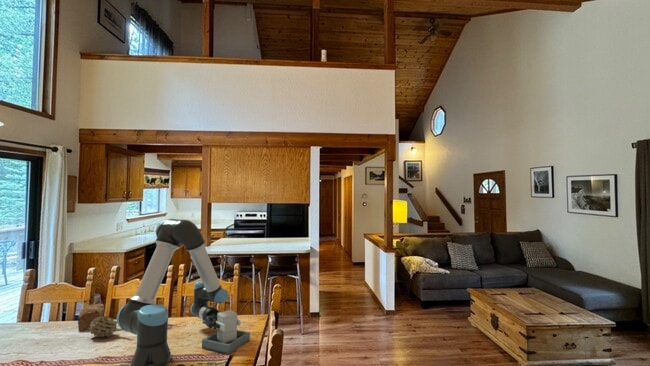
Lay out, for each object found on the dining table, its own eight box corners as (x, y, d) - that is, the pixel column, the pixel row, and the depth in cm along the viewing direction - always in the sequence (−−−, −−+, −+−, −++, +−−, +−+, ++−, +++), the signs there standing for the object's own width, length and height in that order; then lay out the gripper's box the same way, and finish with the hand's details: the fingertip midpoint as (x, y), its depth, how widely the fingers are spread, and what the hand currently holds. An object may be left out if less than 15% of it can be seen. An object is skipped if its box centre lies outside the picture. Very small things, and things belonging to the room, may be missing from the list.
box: (201, 348, 149) (202, 339, 149) (224, 335, 163) (224, 327, 164) (228, 354, 143) (228, 345, 143) (249, 340, 157) (249, 332, 158)
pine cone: (82, 340, 157) (83, 320, 158) (96, 332, 167) (97, 313, 168) (124, 340, 157) (125, 320, 158) (136, 333, 166) (137, 314, 167)
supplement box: (230, 334, 158) (231, 309, 159) (237, 339, 153) (237, 313, 154) (216, 338, 154) (217, 312, 154) (222, 344, 148) (223, 316, 149)
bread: (100, 327, 174) (101, 309, 175) (76, 331, 169) (77, 312, 169) (104, 317, 190) (105, 300, 191) (82, 320, 185) (83, 303, 186)
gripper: (226, 316, 173) (250, 327, 158) (189, 327, 158) (212, 340, 143) (226, 302, 174) (250, 312, 158) (190, 311, 159) (212, 323, 143)
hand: (232, 325), depth 151 cm, fingers closed on supplement box, 8 cm apart
